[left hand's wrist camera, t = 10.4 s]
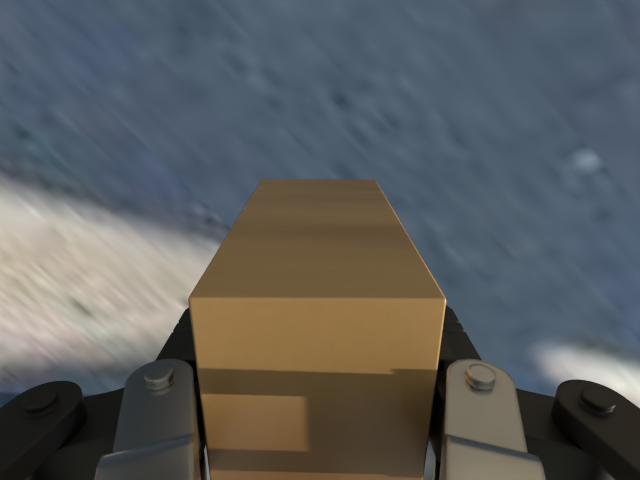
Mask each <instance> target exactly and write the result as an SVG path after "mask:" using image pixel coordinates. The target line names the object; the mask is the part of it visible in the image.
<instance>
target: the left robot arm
mask: <svg viewBox="0 0 640 480" xmlns="http://www.w3.org/2000/svg"><path fill="white" fill-rule="evenodd" d="M428 441H431V444H432V448H433V451H434V454H435V462H434V474H433V480H640V408H638V407H637V406H636V405H634V404H633V403H632V402H630V401H629V400H627V399H626V398H625V397H623V396H622V395H620V394H619V393H617V392H615V391H614V390H612V389H610V388H608V387H605V386H603V385H600V384H598V383H594V382H591V381H585V380H568V381H565V382H563V383H561V384H560V385H559V386H558V388H557V391H556V395H555V397H551V396H546V395H542V394H537V393H533V392H528V391H524V390H520V389H517V388H516V387H515V384H514V381H513V379H512V378H511V377H510V375H509V374H508V373H507V372H505V371H504V370H503V369H501V368H500V367H498V366H496V365H494V364H492V363H489V362H486V361H483V360H481V358H480V356H479V355H478V353H477V351H476V350H475V348H474V346H473V344H472V343H471V341H470V339H469V338H468V336H467V334H466V332H464V329H463V327H462V325H461V324H460V323H459V320H458V319H457V317H456V315H455V313H454V312H453V310H452V309H451V308H449V307H448V306H446V307H445V314H444V322H443V330H442V337H441V345H440V353H439V360H438V368H437V376H436V383H435V391H434V399H433V406H432V414H431V422H430V429H429V437H428ZM205 445H206V439H205V431H204V423H203V415H202V407H201V399H200V390H199V382H198V374H197V366H196V358H195V350H194V342H193V333H192V325H191V317H190V309H189V308H188V309H186V310H185V311H184V313H183V315H182V316H181V318H180V320H179V323H177V325H176V327H175V328H174V330H173V333H171V335H170V337H169V338H168V340H167V342H166V344H165V345H164V347H163V349H162V350H161V352H160V354H159V355H158V357H157V359H156V360H155V361H154V362H151V363H148V364H146V365H144V366H142V367H140V368H139V369H137V370H136V371H135V372H133V373H132V374H131V375H130V377H129V378H128V379H127V381H126V383H125V387H124V388H121V389H118V390H115V391H111V392H107V393H102V394H98V395H93V396H89V397H84V398H83V395H82V391H81V388H80V387H79V386H78V385H77V384H76V383H73V382H69V381H54V382H49V383H45V384H41V385H39V386H36V387H33V388H31V389H29V390H27V391H25V392H23V393H21V394H20V395H18V396H17V397H15V398H14V399H13V400H11V401H10V402H8V403H7V404H6V405H4V406H3V407H2V408H0V480H207V475H206V462H205V455H204V448H205Z"/></svg>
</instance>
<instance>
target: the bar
mask: <svg viewBox="0 0 640 480" xmlns="http://www.w3.org/2000/svg"><path fill="white" fill-rule="evenodd" d="M188 301H189V309H190V317H191V325H192V333H193V342H194V350H195V358H196V366H197V374H198V382H199V390H200V399H201V407H202V415H203V423H204V431H205V439H206V447H207V456H208V464H209V472H210V480H423V475H424V468H425V460H426V452H427V445H428V437H429V429H430V422H431V414H432V406H433V399H434V391H435V383H436V376H437V368H438V360H439V353H440V345H441V337H442V330H443V322H444V314H445V307H446V298H445V296H444V295H443V293H442V291H441V290H440V288H439V286H438V285H437V283H436V281H435V280H434V278H433V276H432V274H431V273H430V271H429V269H428V268H427V266H426V264H425V263H424V261H423V259H422V258H421V256H420V254H419V253H418V251H417V249H416V248H415V246H414V244H413V242H412V241H411V239H410V237H409V236H408V234H407V232H406V231H405V229H404V227H403V226H402V224H401V222H400V221H399V219H398V217H397V215H396V214H395V212H394V210H393V209H392V207H391V205H390V204H389V202H388V200H387V199H386V197H385V195H384V194H383V192H382V190H381V189H380V187H379V185H378V183H377V182H376V180H344V179H262V180H261V181H260V183H259V185H258V186H257V188H256V189H255V191H254V193H253V194H252V196H251V197H250V199H249V201H248V202H247V204H246V206H245V207H244V209H243V210H242V212H241V214H240V215H239V217H238V219H237V220H236V222H235V223H234V225H233V227H232V228H231V230H230V232H229V233H228V235H227V236H226V238H225V240H224V241H223V243H222V245H221V246H220V248H219V249H218V251H217V253H216V254H215V256H214V257H213V259H212V261H211V262H210V264H209V266H208V267H207V269H206V270H205V272H204V274H203V275H202V277H201V279H200V280H199V282H198V283H197V285H196V287H195V288H194V290H193V292H192V293H191V295H190V296H189V299H188Z"/></svg>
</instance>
